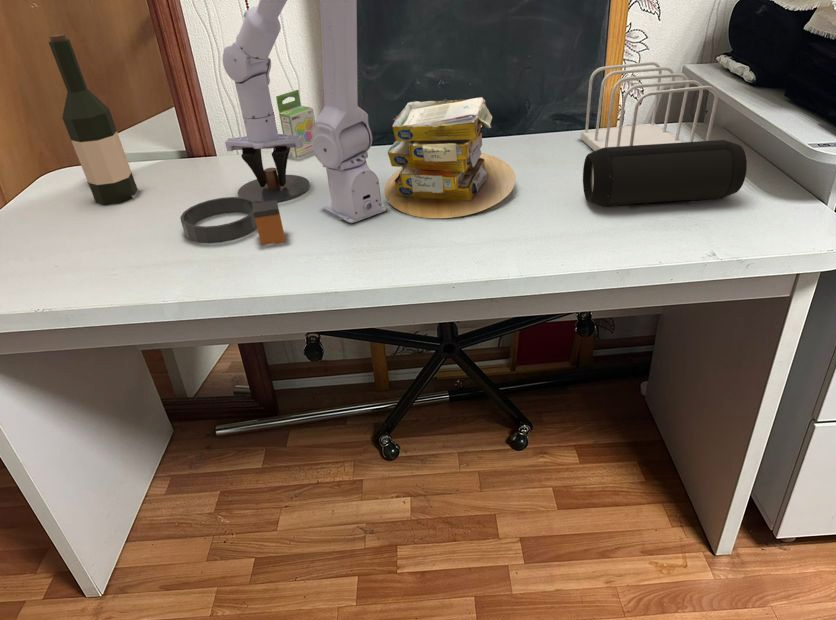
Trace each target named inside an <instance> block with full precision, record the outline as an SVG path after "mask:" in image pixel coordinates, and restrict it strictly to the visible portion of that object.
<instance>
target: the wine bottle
mask: <svg viewBox="0 0 836 620" xmlns="http://www.w3.org/2000/svg"><path fill="white" fill-rule="evenodd" d="M48 38H49V40H50V41H48V45H49V47H50V50H51V52H52V55H53V58H54V60H55V63H56V66H57V68H58V71H59V74H60V76H61V78H62V82H63V83H64V86H65V89H66V98H65V103H64V107H63V113H62V117H61V118H62V121H63V123H64V126H65V128H66V131H67V134H68V136H69V138H70V141H71V143H72V145H73V148H74V151H75V154H76V157H77V159H78V161H79V164H80V166H81V168H82V171H83V174H84V176H85V179H86V181H87V183H88V184H87V185H88V186H89V189H90V191H91V194H92V197H93V199H94V202H95V203H97V204H100V205H103V206H109V205H117V204H123V203H125V202H127V201H128V202H129V201H130V200H133V199H134V197H133V196H135V195H136V193H137V191H138V187H137V184H136V181H135V178H134V176H133V175H134V174H133V172H132V169H131V167H130V163H129V161H128V158H127V155H126V153H125V149H124V147H123V144H122V141H121V139H120V135H119V132H118V129H117V127H116V124H115V121H114V118H113V116H112V113H111V110H110V108H109V107H108V106H107V105H106V104H105V103H103V101H102V100H100V98H98V97H97V95H95V94H94V93H93V92H92V91H91V90H89V89H88V87H87V83H86V81H85V78H84V76H83V73H82V71H81V68H80V65H79V61H78V59H77V57H76V53H75V51H74V48H73V45H72V43H71V39H69V38H67V36H66V34H64V33H60V34H59V33H58V34H53V35H52V34H51V35H50V36H49V37H48Z"/></svg>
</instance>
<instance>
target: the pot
mask: <svg viewBox="0 0 836 620" xmlns="http://www.w3.org/2000/svg"><path fill="white" fill-rule="evenodd" d="M253 203H256V202H255V201H253V200H251V199H247V198H243V197H239V196H227V197H219V198H213V199H208V200H205V201H202V202H199V203H196V204H194V205H192V206H189V208H187V209H186V210H184V211H183V212H182V213H181V215H180V219H179V220H180V223H181V226H182V230H183V233H184V236H185V238H187V240H189V241H192V242H195V243H199V244H218V243H225V242H230V241H236V240H238V239H240V238H243V237H246V236H248V235H250V234H252V233H254V232H255V231H256V230H257V225H256V221H255V217H254V213H253ZM224 214H247V215H246V216H244V217H242V218H240V219H237V220H235V221H232V222H229V223H224V224H219V225H207V226H206V225H205V226H204V225H196V224H197V223H199V222H201V221H203V220H205V219H209V218H211V217H212V218H213V217H215V216H219V215H224Z"/></svg>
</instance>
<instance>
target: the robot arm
mask: <svg viewBox="0 0 836 620" xmlns="http://www.w3.org/2000/svg"><path fill="white" fill-rule="evenodd" d="M287 1H288V0H259V1H258V4H257V5H256V6H255V5H254V6H251V7H250V8H248V9H247V10H245V11H244V13H243V14H242V15H243V18H244V20H243V22H242V25H241V27H240V29H239V31H238V33H237V34H236V38H235V42H232V44H231V45H228V46H225V47H224V49H223V52H222V65H223V69H224V70H225V73H226V74H227V76H228V77H229V78H230V79H231V80H232V81H233V82H234V85H235V89H236V94H237V98H238V103H239V107H240V111H241V114H242V121H243V125H244V128H245V132H246V135H245V136H239V137H231V138H230V137H229V138H227V139H226V140H225V141H224V143H225V148H226V152H233V151H241V159H242V160H243V161H244V162H245V163H246V164H247V166H248V167H249V168H250V170H251V171H252V173H253V175H254V176H255V179H257V180H258V182H259V184H260V187H264V186H265V185H266V178H265V173H264V170H265V168H264V165H263V158H262V150H267V149H268V150H269V149H270V150H271V149H273V151H272V152H271V157H272V159H273V162H274V166H275V168H276V170H277V175H278V180H279V184H280V186H284V185H285V184H286V175H287V164H288V159H289V156H288V155H289V152H290V148H294V147H296V148H302V147H303V139H302V135H285V134H283V133H278V127H277V122H276V117H275V112H274V107H273V103H272V97H271V93H270V88H269V86H270V83H271V79H270V72H271V68H272V59H271V58H270V57H269V56H270V54H271V52H272V49H273V47H274V45H275V43H276V41H277V39H278V36H279V34H280V32H281V29H282V27H281V22H280V20H279V16H280V15H281V13H282V11H283V9H284V7H285V6H286V4H287ZM318 1H319V13H320V35H321V37H320V38H321V58H322V59H321V61H322V83H323V84H322V85H323V105H324V106H323V108H322V110H321V112H320V113H319V115H318V117H317V119H315V123H316V132H315V135H314V137H313V142H312V145H313V150H314V152H313V153H314V156H315V157H316V159H317V161H318V162H319V163H320V164H321V165H322V167H323V168H325V169H326V175H327V176H326V177H327V183H328V188H329V189H328V190H329V195H330V200H331V204H328V205H325V206H323V207H322V208H323V209H325V210H326V211H329V212H330V213H331V214H334V215H336V216H338V217H339V218H341V219H342V220H343V221H345V222H347V223H348V224H354V223H357V222H360V221H362V220H365V219H368V218H371V217H373V216H376V215H380V214H381V213H384V212H386V211H387V208H386V207H385V206H383V205H382V196H381V187H380V179H379V177H378V175H377V173H375V172H374V171H373V170H371V168H370V167H369V166H368V165H369V164H368V163H367V159H368V158H369V155H368V151H370V149H371V147H372V145H373V134H372V130H371V127H370V124H369V114H368V113H367V112H366V111H365V110H363V109H362V108H361V107H360V106H358V104H359V103H358V20H357V19H358V15H357V13H358V10H357V9H358V7H357V3H358V2H357V1H358V0H318Z"/></svg>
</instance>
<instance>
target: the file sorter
mask: <svg viewBox="0 0 836 620" xmlns="http://www.w3.org/2000/svg"><path fill="white" fill-rule="evenodd" d="M645 66H655V67H646V68H636V67H645ZM626 68H632V69H626ZM634 68H635V69H634ZM617 69H622V70H617ZM608 70H613V71H611V72H609V73H607V74H606V75H605V76H604V77H603V79H602V81H601V83H600V84H601V85H600V91H599V100H598V107H597V115H596V124H595V129H590V130H589V125H590V113H591V103H592V101H591V100H592V90H593V81H594V78H595V76H596V75H597V74H599V72H601V71H608ZM663 71H667V72H669V73H663ZM649 72H658V74H648V75H637V76H625V77H623V78H622V77H621V78H620V79H619V80H618V81H617V82H616V83H615V84H614V85H613V87H612V90H611V94H610V102H609V110H608V117H607V125H606V128H600V123H601V122H600V121H601V114H602V106H603V97H604V92H605V91H604V90H605V85H606V82H607V81H608V79H609V78H611V77H613V76H615V75H622V74H623V75H624V74H635V73H649ZM666 78H667V79H668V78H671V81H663V82H662V79H666ZM676 78H682V79H683V80H676ZM652 79H653V80H654V79H655V80H656V79H657V82H651V83H649V82H648V83H638V84H634V85H631V86H630V87H629V88H628V89H627V90H626V91H625V92H624V95H623V96H622V101H621V108H620V116H619V123H618V126H615V127H611V124H612V118H613V117H612V115H613V110H614V103H615V95H616V90H617V88H618V87H619V86H620V85H621V84H622V83H624V82H628V81H629V82H630V81H639V80H641V81H643V80H652ZM679 85H680V86H681V85H685V87H681V88H680V87H679V88H675V86H679ZM690 85H696V86H692V87H690ZM667 86H670V89H663V90H660V87H667ZM655 87H656V90H653V91H648V92H645V93H643V94H642V95H640V97H639V98H638V99H637V101H636V102H635V104H634V110H633V117H632V122H631V125H624V126H623V124H624V118H625V117H624V116H625V108H626V101H627V98H628V95H629V94H630V93H631V92H632V91H633V90H636V89H641V88H655ZM704 90H705V91H706V90H709V91H711V93H712V94H713V104H712V109H711V113H710V119H709V124H708V128H707V132H706V136H705V141H711V136H712V131H713V125H714V121H715V116H716V111H717V107H718V101H719V94H718V91H717V89H716V88H715V87H713V86H711V85H702V84H701V82H700V81H697V80H694V79H690V80H689V78H688V77H687V76H686V75H685V74H683V73H680V72H679V73H678V72H677V73H675V72H674V70H673V69H672V68H670V67H668V66H661V65H660V64H659V63H657V62H655V61H645V62H636V63H626V64H615V65H606V66H601V67H598V68H596V69H595V70H594V71H593V72H592V74H591V75H590V77H589V83H588V93H587V104H586V105H587V106H586V115H585V116H586V117H585V128H584V130H582V131H581V133H580V140H581V141H583V142H584V143H585V144H586V145H587V146H588V147H589V148H591V149H592V150H593V152H594V151H596V150H599V149H601V148H605V147H620V146H635V145H651V144H666V143H682V142H684V141H683V140H681V139H680V138H679V137H680V133H681V128H682V123H683V119H684V114H685V109H686V104H687V99H688V94H689V92H695V91H696V92H697V91H699V93H698V99H697V103H696V105H697V106H696V108H695V114H694V118H693V122H692V128H691V131H690V132H691V133H690V137H689V142H694V139H695V133H696V130H697V124H698V119H699V115H700V111H701V105H702V101H703V95H704ZM675 93H676V94H677V93H684V94H683V99H682V103H681V108H680V114H679V118H678V123H677V129H676V134H675V135H674V134H672V133H671V132H670V131H668V130H667V128H668V122H669V116H670V111H671V105H672V99H673V95H674V94H675ZM667 94H668V100H667V106H666V111H665V117H664V123H663V127H662V126H660V125H658V124H657V123H656V122H655V121H656V115H657V109H658V103H659V102H658V101H659V95H667ZM649 96H654V97H655V98H654V104H653V111H652V117H651V123H650V122H649V123H640V124H637V117H638V112H639V106H640V104H641V103H642V101H644V99H646V98H647V97H649Z"/></svg>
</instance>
